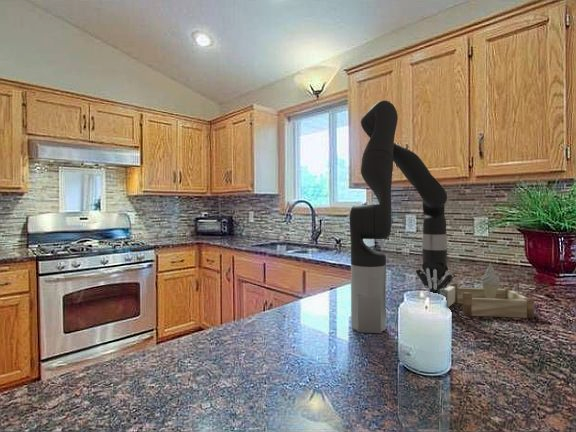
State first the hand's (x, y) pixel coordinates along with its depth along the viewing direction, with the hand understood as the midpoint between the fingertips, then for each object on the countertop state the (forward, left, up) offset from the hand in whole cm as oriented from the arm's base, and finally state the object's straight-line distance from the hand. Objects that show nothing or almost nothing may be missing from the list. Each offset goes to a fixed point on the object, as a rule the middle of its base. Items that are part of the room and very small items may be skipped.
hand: (434, 300), depth 117 cm
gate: (-1, -4, -1) cm, 4 cm away
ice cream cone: (-2, -16, -2) cm, 17 cm away
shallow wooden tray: (-2, -16, -2) cm, 16 cm away
